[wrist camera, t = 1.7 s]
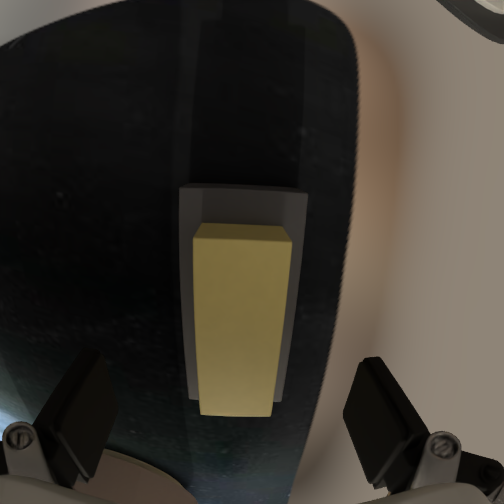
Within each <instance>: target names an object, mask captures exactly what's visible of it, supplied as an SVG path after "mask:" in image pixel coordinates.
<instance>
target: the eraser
mask: <svg viewBox="0 0 504 504" xmlns="http://www.w3.org/2000/svg"><path fill="white" fill-rule="evenodd" d="M307 200H308V193H306V192H304V191H302V190H300V189H298V188H292V187H278V186H261V185H241V184H214V183H188V184H186V185H184V186H182V187H180V188H179V263H180V291H181V311H182V327H183V341H184V354H185V365H186V376H187V385H188V395H189V399H197V400H199V402H200V413H201V415H217V416H271V411H272V405H273V402H279V401H281V400H282V394H283V388H284V383H285V376H286V370H287V364H288V358H289V351H290V345H291V338H292V331H293V324H294V317H295V309H296V302H297V294H298V286H299V278H300V269H301V260H302V251H303V242H304V232H305V222H306V211H307Z"/></svg>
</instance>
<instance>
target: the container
mask: <svg viewBox="0 0 504 504" xmlns="http://www.w3.org/2000/svg"><path fill="white" fill-rule="evenodd" d="M74 488H75V490H76V491H78V492H81V493H84V494H87V495H91V496H94V497H98V498H101V499H105V500H109V501H113V502H117V503H121V504H198V503H197V501H196V499H195V498H194V496H193V495H192V494H190V493H189V492H188V491H187V490H185V489H184V488H183V486H182V485H181V484H180V483H179V482H178V481H177V480H175V479H174V478H173V477H171V476H170V475H168V474H166V473H165V472H163V471H161V470H159V469H157V468H155V467H153V466H151V465H149V464H147V463H145V462H142V461H140V460H137V459H135V458H132V457H130V456H127V455H124V454H121V453H118V452H115V451H112V450H108V449H104V450H103V453H102V456H101V459H100V461H99V464H98V467H97V470H96V473H95V475H94V477H93V478H90V479H89V482H88V484H85V483H82V482H79V481H76V482H75V485H74Z"/></svg>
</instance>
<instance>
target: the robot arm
mask: <svg viewBox="0 0 504 504" xmlns="http://www.w3.org/2000/svg"><path fill="white" fill-rule="evenodd" d="M475 1H476V2H477V3H479V4H480V5H482V6H484V7H485V8H487V9H489V10H491V11H493V12H495V13H498V14H504V0H475ZM117 413H118V403H117V400H116V397H115V394H114V391H113V387H112V384H111V380H110V377H109V373H108V369H107V366H106V362H105V358H104V356H103V355H102V354H100V352H99V350H95V349H89V348H83V349H82V351H81V352H80V353H79V355H78V356H77V358H76V359H75V360H74V362H73V363H72V365H71V366H70V368H69V369H68V371H67V372H66V373H65V375H64V376H63V378H62V379H61V381H60V382H59V384H58V385H57V387H56V388H55V390H54V391H53V393H52V394H51V396H50V397H49V399H48V400H47V402H46V404H45V405H44V407H43V408H42V410H41V412H40V413H39V415H38V416H37V418H36V420H35V421H34V423H33V425H31V424H29V423H27V422H22V421H20V422H15V423H12V424H10V425H9V426H7V428H6V429H5V430H4V432H3V435H2V441H0V504H121V503H117V502H113V501H109V500H105V499H101V498H98V497H94V496H91V495H87V494H84V493H81V492H78V491H76V490H75V488H74V485H75V482H76V481H79V482H82V483H85V484H88V482H89V479H90V478H93V477H94V475H95V473H96V470H97V467H98V464H99V461H100V459H101V456H102V453H103V450H104V447H105V445H106V442H107V439H108V437H109V434H110V431H111V429H112V426H113V424H114V421H115V419H116V416H117ZM343 419H344V421H345V424H346V427H347V429H348V431H349V434H350V437H351V439H352V442H353V444H354V447H355V450H356V452H357V455H358V458H359V460H360V463H361V465H362V468H363V471H364V473H365V476H366V479H367V481H368V483H370V484H373V487H374V489H379V488H382V487H387V489H388V491H389V492H388V495H387V497H383V498H380V499H376V500H372V501H368V502H364V503H360V504H504V467H503V466H502V465H501V463H499V462H498V461H496V460H494V459H490V458H486V457H482V456H479V455H475V454H471V453H468V452H465V451H461V443H460V441H459V439H458V438H457V437H456V436H454V435H453V434H452V433H449V432H445V431H439V432H435V433H432V434H430V433H429V431H428V429H427V427H426V425H425V424H424V422H423V421H422V419H421V418H420V416H419V414H418V413H417V412H416V410H415V408H414V407H413V405H412V404H411V402H410V401H409V399H408V398H407V396H406V395H405V393H404V392H403V390H402V388H401V387H400V386H399V384H398V382H397V381H396V380H395V378H394V377H393V375H392V374H391V372H390V371H389V369H388V368H387V366H386V365H385V363H384V362H383V360H382V359H381V358H380V357H369V358H364V360H363V362H360V363H359V365H358V368H357V371H356V375H355V377H354V381H353V384H352V387H351V390H350V393H349V396H348V398H347V401H346V404H345V407H344V410H343Z"/></svg>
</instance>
